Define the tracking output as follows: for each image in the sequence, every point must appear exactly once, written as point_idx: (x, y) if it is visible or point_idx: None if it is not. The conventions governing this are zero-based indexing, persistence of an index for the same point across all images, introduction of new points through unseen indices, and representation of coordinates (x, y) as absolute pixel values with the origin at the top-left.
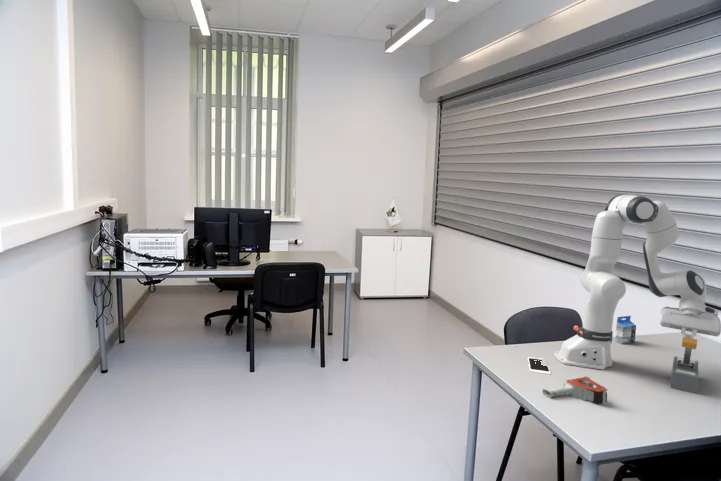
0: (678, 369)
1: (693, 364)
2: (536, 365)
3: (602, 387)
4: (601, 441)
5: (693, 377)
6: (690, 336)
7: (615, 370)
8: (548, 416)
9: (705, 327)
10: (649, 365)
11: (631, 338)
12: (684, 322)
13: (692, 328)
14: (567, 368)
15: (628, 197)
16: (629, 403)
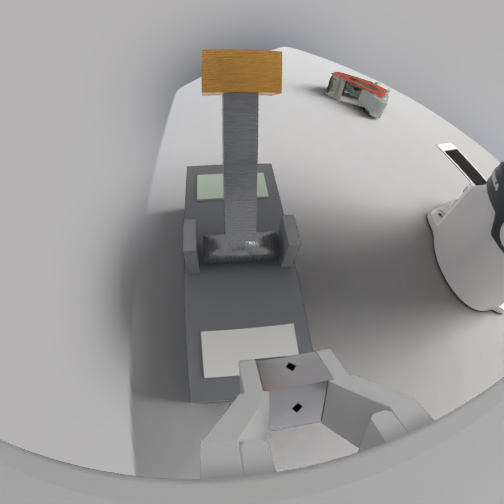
0: (259, 195)
1: (205, 234)
2: (467, 165)
3: (341, 77)
4: (286, 52)
5: (203, 166)
6: (269, 373)
7: (414, 234)
8: (344, 66)
9: (40, 499)
10: (379, 382)
11: None
12: (478, 471)
13: (288, 475)
14: (450, 181)
15: None
16: (303, 102)
